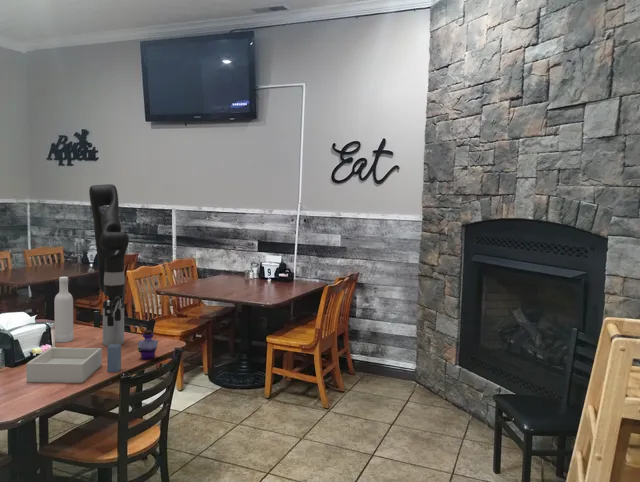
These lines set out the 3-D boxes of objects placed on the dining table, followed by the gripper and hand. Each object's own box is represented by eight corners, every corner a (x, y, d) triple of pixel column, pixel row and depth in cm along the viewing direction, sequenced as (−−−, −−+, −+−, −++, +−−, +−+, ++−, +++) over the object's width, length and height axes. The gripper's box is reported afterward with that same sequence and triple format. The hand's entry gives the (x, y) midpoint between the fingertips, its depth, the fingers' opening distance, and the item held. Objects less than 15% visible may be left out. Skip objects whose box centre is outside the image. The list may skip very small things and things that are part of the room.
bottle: (77, 338, 247) (76, 276, 245) (65, 343, 240) (65, 279, 237) (62, 337, 249) (62, 275, 246) (50, 341, 241) (50, 277, 239)
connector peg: (110, 368, 209) (110, 344, 208) (121, 368, 209) (121, 344, 208) (107, 371, 205) (107, 347, 204) (117, 372, 205) (117, 347, 204)
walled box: (51, 364, 211) (51, 347, 211) (101, 364, 212) (101, 348, 212) (26, 382, 191) (26, 363, 191) (82, 382, 193) (82, 364, 192)
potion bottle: (135, 356, 225) (135, 329, 224) (155, 353, 229) (155, 327, 228) (140, 362, 218) (140, 334, 216) (160, 359, 222) (161, 331, 221)
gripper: (110, 279, 211) (110, 318, 212) (97, 285, 197) (97, 327, 198) (129, 280, 211) (129, 319, 213) (118, 286, 197) (118, 328, 198)
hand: (114, 323), depth 205 cm, fingers open, 8 cm apart
